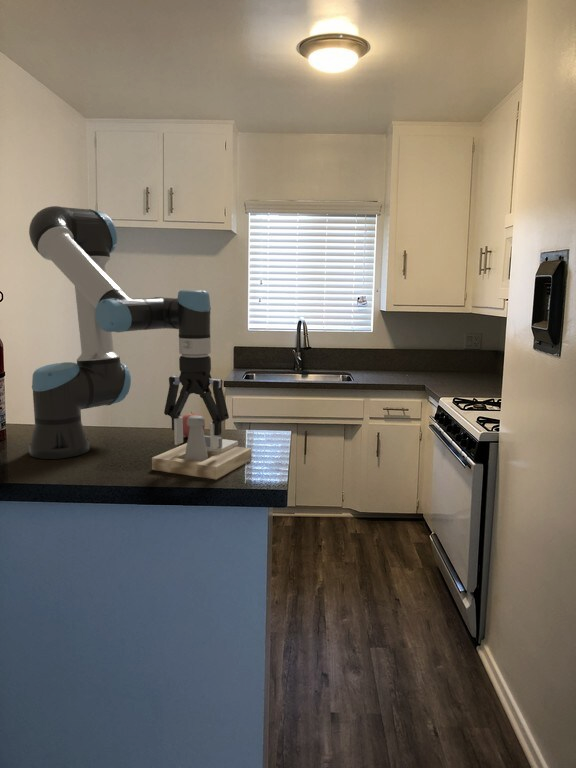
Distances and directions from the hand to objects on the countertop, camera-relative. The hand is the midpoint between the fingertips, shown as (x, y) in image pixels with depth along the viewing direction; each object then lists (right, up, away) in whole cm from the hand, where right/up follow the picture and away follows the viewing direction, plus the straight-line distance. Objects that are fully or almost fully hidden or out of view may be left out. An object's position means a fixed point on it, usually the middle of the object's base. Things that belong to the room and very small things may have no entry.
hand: (196, 445), depth 154 cm
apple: (-6, -1, +30) cm, 31 cm away
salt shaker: (0, -6, +1) cm, 6 cm away
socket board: (+1, -5, +4) cm, 6 cm away
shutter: (+4, -1, +9) cm, 10 cm away
